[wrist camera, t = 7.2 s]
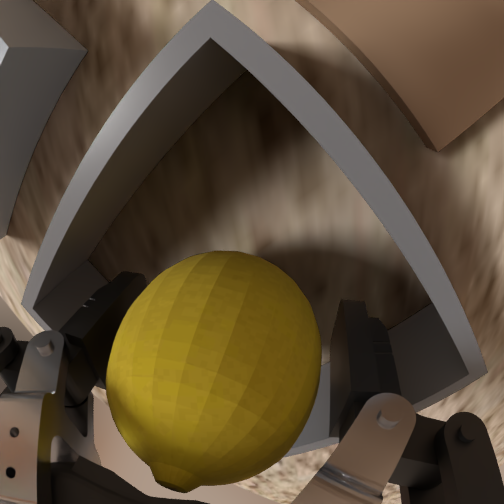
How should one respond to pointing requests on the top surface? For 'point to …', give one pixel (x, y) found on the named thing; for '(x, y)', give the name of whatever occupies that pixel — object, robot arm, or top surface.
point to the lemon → (214, 370)
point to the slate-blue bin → (28, 88)
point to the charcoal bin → (165, 136)
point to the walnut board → (426, 56)
